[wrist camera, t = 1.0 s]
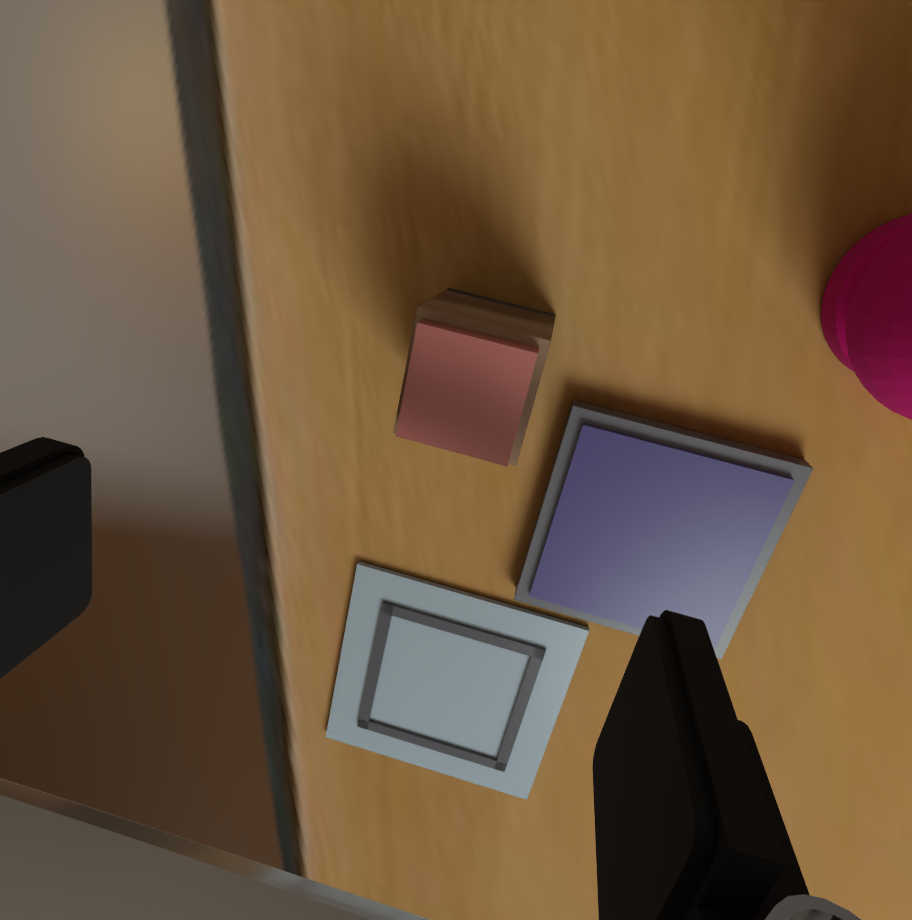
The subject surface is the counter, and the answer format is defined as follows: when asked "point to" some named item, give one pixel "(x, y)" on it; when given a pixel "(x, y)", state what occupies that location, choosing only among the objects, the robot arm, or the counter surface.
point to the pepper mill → (875, 313)
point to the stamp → (473, 375)
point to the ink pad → (656, 523)
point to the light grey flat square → (451, 679)
